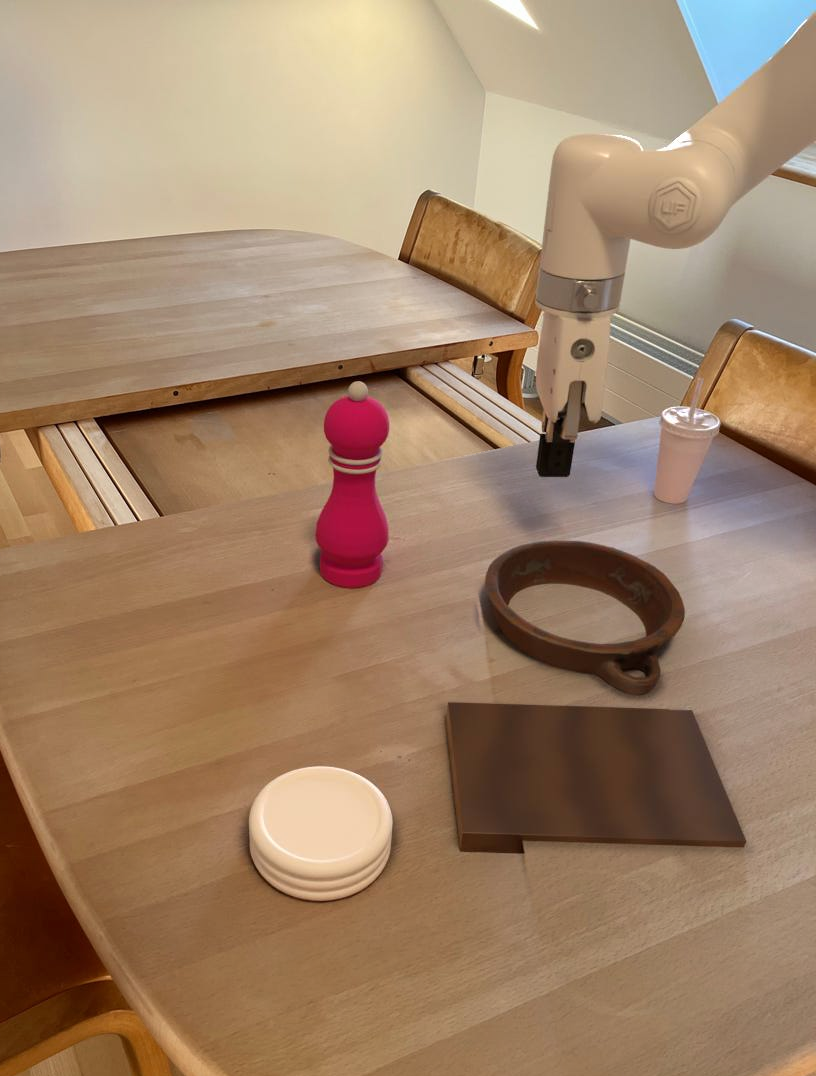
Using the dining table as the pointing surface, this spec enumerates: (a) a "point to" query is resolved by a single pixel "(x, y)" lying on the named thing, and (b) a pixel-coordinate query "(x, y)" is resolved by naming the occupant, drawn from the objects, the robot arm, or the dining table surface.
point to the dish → (600, 572)
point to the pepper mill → (353, 491)
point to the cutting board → (584, 777)
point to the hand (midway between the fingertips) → (552, 473)
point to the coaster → (320, 833)
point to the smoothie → (683, 448)
